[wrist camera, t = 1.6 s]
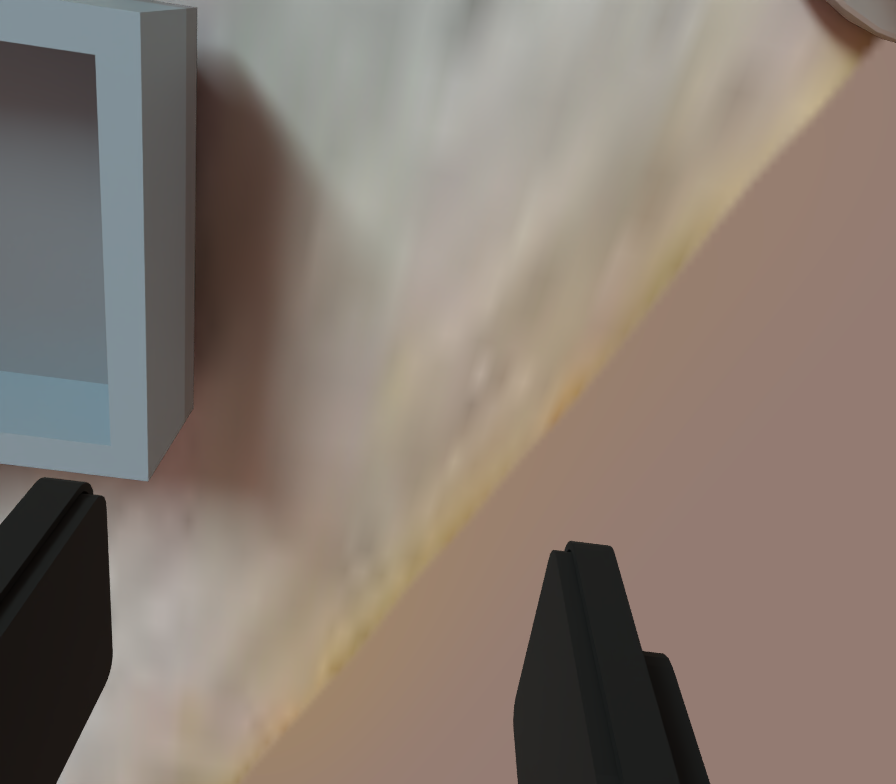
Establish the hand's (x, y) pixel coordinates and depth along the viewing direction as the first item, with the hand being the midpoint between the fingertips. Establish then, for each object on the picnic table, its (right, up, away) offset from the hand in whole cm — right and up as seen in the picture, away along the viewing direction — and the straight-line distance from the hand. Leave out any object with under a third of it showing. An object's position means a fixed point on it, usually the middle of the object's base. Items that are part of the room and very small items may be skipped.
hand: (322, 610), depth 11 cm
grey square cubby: (-12, +9, +15) cm, 21 cm away
